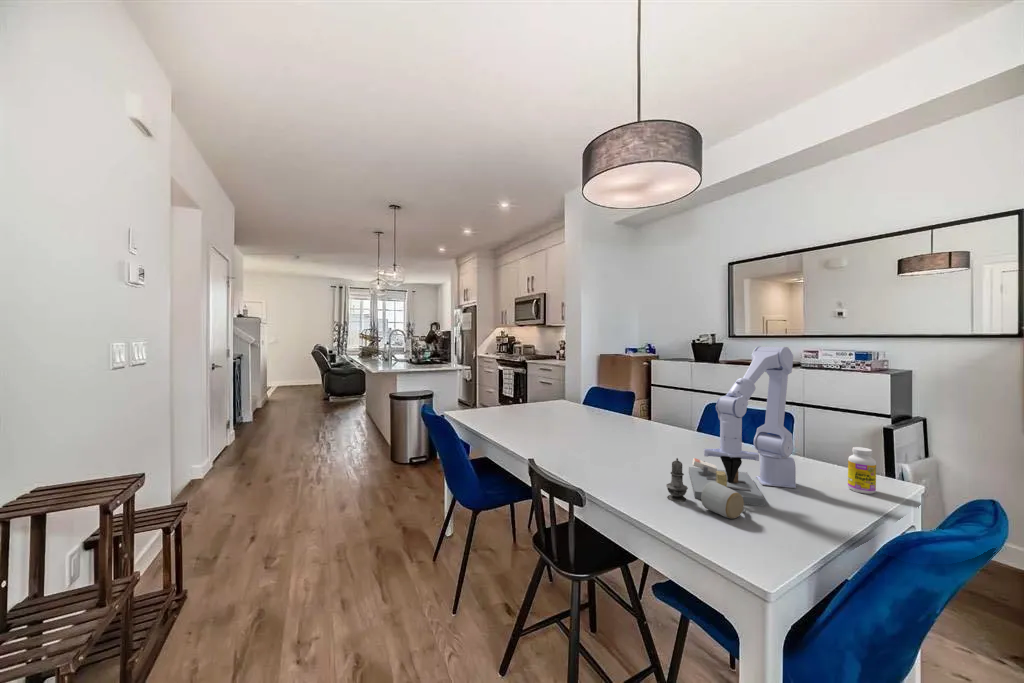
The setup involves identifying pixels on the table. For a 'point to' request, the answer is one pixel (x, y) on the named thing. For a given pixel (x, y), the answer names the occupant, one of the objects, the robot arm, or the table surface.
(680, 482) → the grey stone rounded piece
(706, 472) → the console
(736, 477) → the walnut knob
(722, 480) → the tan wooden block
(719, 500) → the ceramic mug
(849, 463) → the supplement bottle
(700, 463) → the rocker
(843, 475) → the table surface
